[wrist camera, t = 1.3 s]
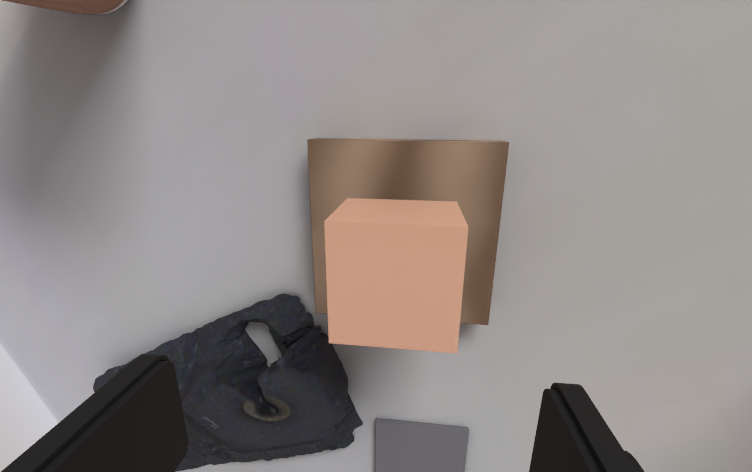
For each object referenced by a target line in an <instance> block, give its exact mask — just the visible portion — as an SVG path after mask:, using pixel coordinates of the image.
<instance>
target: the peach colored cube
mask: <svg viewBox="0 0 752 472" xmlns="http://www.w3.org/2000/svg"><path fill="white" fill-rule="evenodd" d="M324 227H325V254H326V281H327V308H328V335H329V343H333V344H346V345H358V346H371V347H384V348H397V349H409V350H422V351H435V352H448V353H457V351H458V340H459V328H460V317H461V306H462V294H463V283H464V272H465V260H466V249H467V237H468V225H467V223H466V220H465V218H464V216H463V214H462V212H461V209H460V207H459V205H458V203H457V202H455V201H423V200H391V199H360V198H347V199H346V200H345V201H344V202H343V203H342V204H341V205H340V206H339V207H338V208H337V209H336V210H335V211H334V212H333V213H332V214H331V215H330V216H329V217H328V218H327V219H326V220H325V221H324Z"/></svg>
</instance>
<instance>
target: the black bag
mask: <svg viewBox="0 0 752 472" xmlns="http://www.w3.org/2000/svg"><path fill="white" fill-rule="evenodd" d="M250 321H251V322H262V323H265V324H267V325H268V326H269V330H270V333H271V334H272V336H273V338H274V341H275V342H276V344H277V345H278V347H279V349H280V351H281V352H282V355H283V357H282V358H279V359H280V360H278V361H275V362H274V363H272V365H271V366H270V368H269V367H268V366H267V359H266V357H265V356H264V354H263V353H262V351H261V350H260V349H259V348H258V347H257V345H256V344H255V343H254V342H253V341H252V339H251V338H250V337H249V335H248V334H247V332H246V331H245V326H246V325H247V324H248V322H250ZM307 327H310V328H307ZM310 329H312V330H311V331H310ZM320 330H321V327H320V326H314V321H313V318H312V315H311V313H306V310H305V307H304V305H303V304H301V303H300V298H299V297H298V296H291V295H288V294H281V295H277V296H275V297H274V298H273V299H271V300H263V301H260V302H257V303H255V304H254V305H252V306H251V307H248V308H245V309H243V310H241V311H238V312H234V313H232V314H230V315H227V316H224V317H222V318H219V319H217V320H215V321H214V322H210V323H208V324H207V325H204V326H203V327H202V328H197V329H196V330H195V331H194V332H192V333H187V334H183V335H181V336H180V337H179V338H177V339H174V340H171V341H168V342H166V343H164V344H161V345H160V346H159V347H157V348H155V349H154V350H152V351H149V352H147V353H145V354H154V355H165V356H167V357H168V358H169V360H170V362H172V363H173V364H174V366H175V371H176V377H177V382H178V387H179V393H180V398H181V403H182V409H183V414H184V419H185V424H186V430H187V435H188V440H189V445H188V450H187V453H186V455H185V457H184V459H183V460H182V461H181V463H180V464H179V466H178V467H177V469H176V470H175V471H181V470H185V469H193V468H198V467H201V466H204V465H208V464H213V465H217V464H225V463H229V462H251V461H256V460H261V459H263V460H267V461H270V460H273V459H277V458H288V457H293V456H296V455H305V454H313V453H316V452H322V451H324V450H335V449H338V448H345V447H347V446H349V445H350V444H351V443H352V442H353V441H354V436H353V434H352V433H353V430H354V429H355V428H357V427H359V426H361V425H363V422H362V420H361V419H360V417H359V416H358V414H357V412H356V410H355V407H354V405H353V403H352V401H351V399H350V396H349V394H348V392H347V390H348V379H347V375H346V373H345V371H344V369H343V365H342V363H341V361H340V360H339V358H338V356H337V354H336V352H335V350H334V348H333V345H332V343H329V337H328V336H327V335H326V334H324V333H321V331H320ZM133 360H134V359H133ZM133 360H132V361H133ZM132 361H130V362H129V363H127V364H125V365H123V366H118V367H114V368H111V369H108V370H107V371H106V372H105V374H103V375H101V376H99V377H98V378H96V379H95V383H94V386H93V389H94V392H96V391H98V390H99V389H100V388H101V387H102V386H103V385H105V384H106V383H107V382H108V381H109V380H111V379H112V378H113V377H114V376H115V375H116V374H118V373H119V372H120V371H121V370H122V369H124V368H125V367H126V366H127V365H128V364H130V363H131V362H132Z"/></svg>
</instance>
